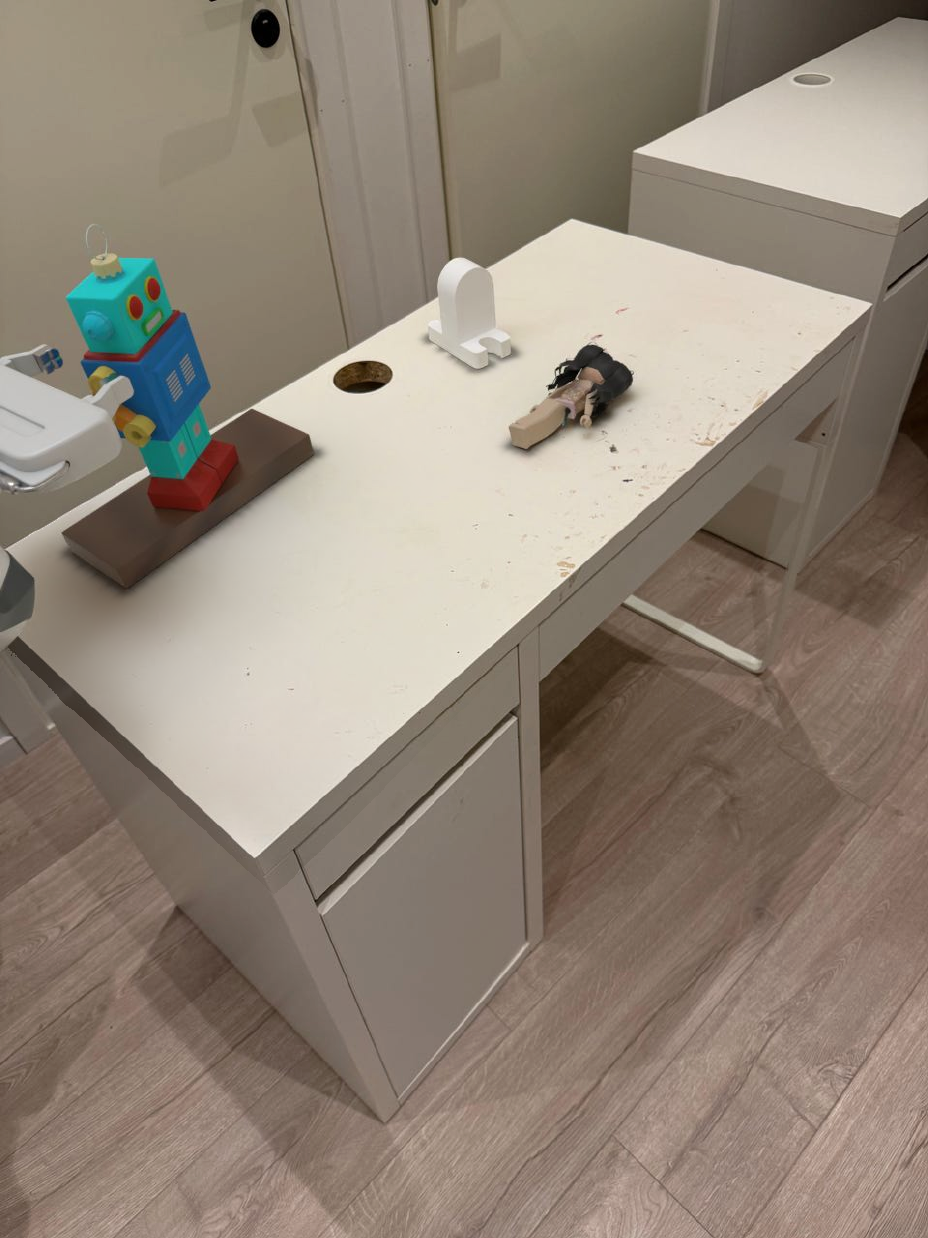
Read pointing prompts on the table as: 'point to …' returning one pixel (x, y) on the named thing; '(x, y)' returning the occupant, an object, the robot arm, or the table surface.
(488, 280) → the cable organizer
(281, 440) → the brown slab
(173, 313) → the toy robot
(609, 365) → the toy figure
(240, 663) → the table surface
